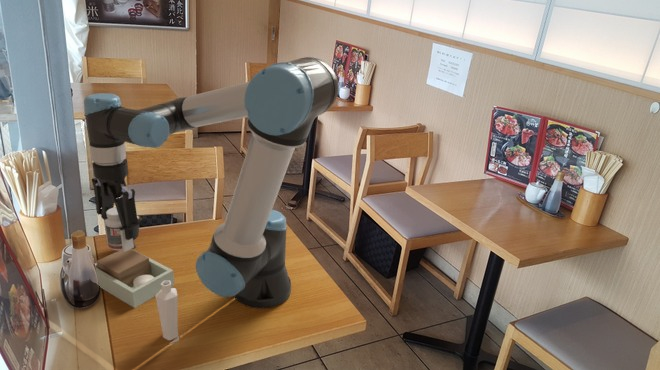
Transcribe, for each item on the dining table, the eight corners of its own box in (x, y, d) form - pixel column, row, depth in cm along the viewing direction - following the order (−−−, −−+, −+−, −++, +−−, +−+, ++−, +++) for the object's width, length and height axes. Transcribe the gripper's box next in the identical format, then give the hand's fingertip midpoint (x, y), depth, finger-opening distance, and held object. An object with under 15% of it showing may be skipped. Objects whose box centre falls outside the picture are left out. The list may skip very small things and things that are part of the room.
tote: (174, 287, 122) (173, 270, 120) (135, 311, 113) (132, 292, 110) (131, 264, 131) (129, 247, 128) (91, 284, 121) (88, 266, 119)
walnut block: (150, 277, 124) (148, 258, 122) (120, 293, 117) (118, 273, 115) (129, 265, 128) (127, 246, 126) (99, 280, 121) (96, 261, 119)
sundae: (136, 257, 134) (131, 211, 128) (116, 253, 135) (109, 207, 129) (149, 246, 140) (145, 201, 134) (129, 242, 141) (124, 198, 135)
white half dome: (159, 289, 120) (158, 279, 118) (143, 298, 116) (141, 288, 115) (147, 282, 122) (145, 272, 121) (130, 291, 118) (129, 281, 117)
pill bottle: (130, 250, 117) (126, 215, 113) (106, 252, 116) (101, 216, 112) (134, 239, 122) (130, 205, 118) (111, 240, 121) (106, 206, 117)
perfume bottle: (175, 328, 108) (171, 274, 102) (184, 338, 105) (180, 283, 99) (156, 336, 105) (150, 281, 99) (165, 347, 102) (159, 291, 96)
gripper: (149, 165, 108) (156, 251, 117) (100, 147, 117) (111, 228, 126) (120, 174, 102) (130, 264, 111) (71, 154, 111) (84, 238, 120)
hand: (120, 244), depth 119 cm, fingers closed on pill bottle, 6 cm apart
